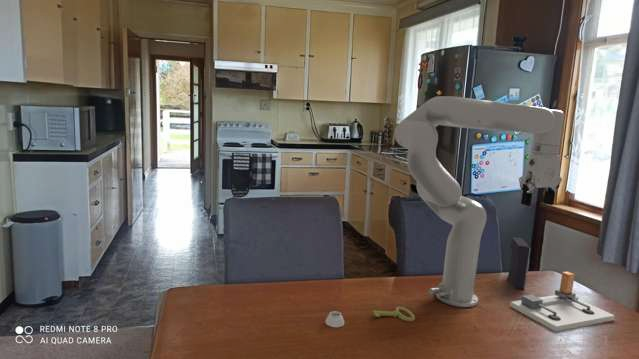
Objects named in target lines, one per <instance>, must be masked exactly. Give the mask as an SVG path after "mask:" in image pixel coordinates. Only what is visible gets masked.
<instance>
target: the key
mask: <svg viewBox="0 0 639 359" xmlns="http://www.w3.org/2000/svg"><path fill="white" fill-rule="evenodd" d="M401 311H404V312H406V313H407V314H408V315H409V317H408V316H406V315H404V314H402V313H401ZM372 315H373V316H375V318H380V317H381V316H383V317H394V318H397V317H398V318H399V319H400V320H403V321H404V322H405V321H406V322H413V321H415V320H416V317H415V314H414V313H413V312H412V311H411V310H409V309H407V308H405V307H403V306H397V307H395V310H393V311H390V310H389V311H388V310H387V311H386V310H372Z"/></svg>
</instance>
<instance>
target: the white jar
mask: <svg viewBox="0 0 639 359" xmlns="http://www.w3.org/2000/svg"><path fill="white" fill-rule="evenodd" d="M325 324H326V326H329V327H330V328H341V327H344V325H345V319H344V317H343V315H342V313H341V312H340V311H336V310H334V311H331V312H329V314H328V315H327V317H326V318H325Z"/></svg>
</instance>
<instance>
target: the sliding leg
mask: <svg viewBox="0 0 639 359" xmlns="http://www.w3.org/2000/svg"><path fill="white" fill-rule="evenodd" d="M575 275H576V274H575V273H574V272H573V273H572V272H570V271H562V272H561V278H560V279H561V280H560V285H559V289H557V290H556V289H555V291H554V295H556V296H558V297H560V298H563V299H565V300H572V301H574V302H576V303H578V304H580V305H582V306H585V307H587V310H590V306H588V305H586V304H584V303H581V302H579V301H577V300H575V296H577V295H576V293H574V292H573V288H574V282H575V281H574V280H575Z"/></svg>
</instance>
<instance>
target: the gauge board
mask: <svg viewBox="0 0 639 359" xmlns="http://www.w3.org/2000/svg"><path fill="white" fill-rule="evenodd" d="M575 300H577V301H579V302H581V303H584V304H586V305H588V306H590V310H587V307H585V306H582V305H580V304H578V303H576V302H574V301H572V300H565V299H563V298H560V297H558V296H556V295H555V294H554V295H546V296H539V297H537V296H536V295H535V294H526V295H521V300H514V301H510V305H509V306H510V307H511V308H512V309H514V310H515V311H517V312H520V313H522V314H523V315H525V316H527V317H529V318H531V319H532V320H534V321H536V322H537V323H538V324H541V325H543V326H545V327H547V328H548V329H550V330H552V331H554V332H560V331H565V330H571V329H576V328H580V327H585V326H586V327H587V326H592V325H596V324H602V323H606V322H607V323H608V322H611V321H615V315H614V314H612V313H610V312H609V311H606V310H603V309H602V308H599V307H597V306H594V305H593V304H590V303H588V302H586V301H584V300H582V299H579V296H577V295H576V296H575Z"/></svg>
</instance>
